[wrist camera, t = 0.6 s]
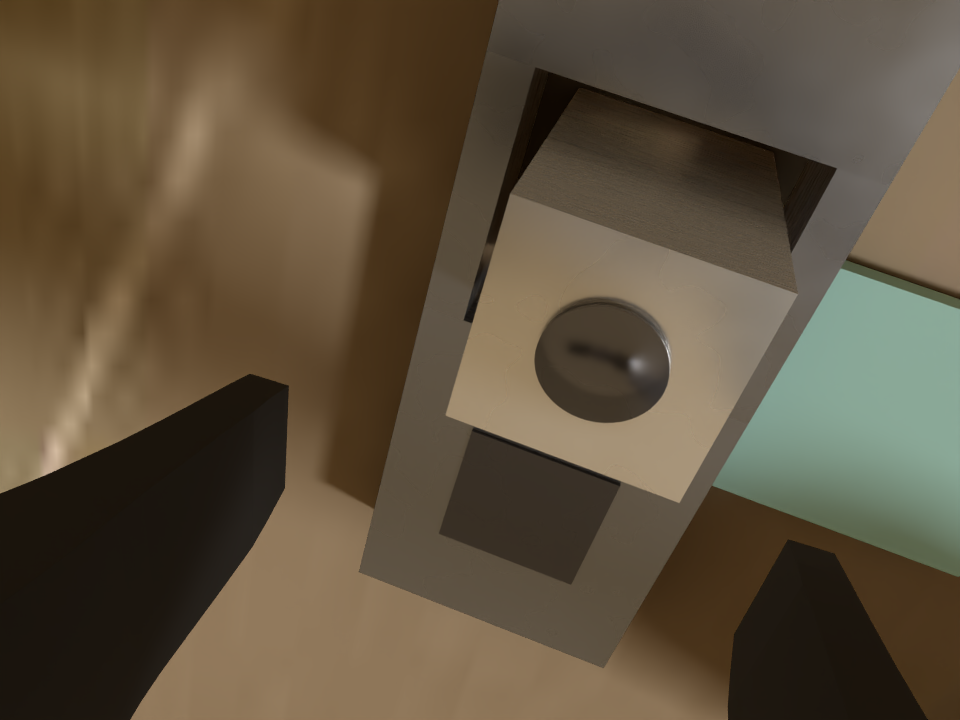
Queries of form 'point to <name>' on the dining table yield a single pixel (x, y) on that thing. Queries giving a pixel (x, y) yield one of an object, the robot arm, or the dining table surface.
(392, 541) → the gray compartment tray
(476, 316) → the cube with screw head
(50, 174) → the dining table surface
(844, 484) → the mat
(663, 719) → the dining table surface
